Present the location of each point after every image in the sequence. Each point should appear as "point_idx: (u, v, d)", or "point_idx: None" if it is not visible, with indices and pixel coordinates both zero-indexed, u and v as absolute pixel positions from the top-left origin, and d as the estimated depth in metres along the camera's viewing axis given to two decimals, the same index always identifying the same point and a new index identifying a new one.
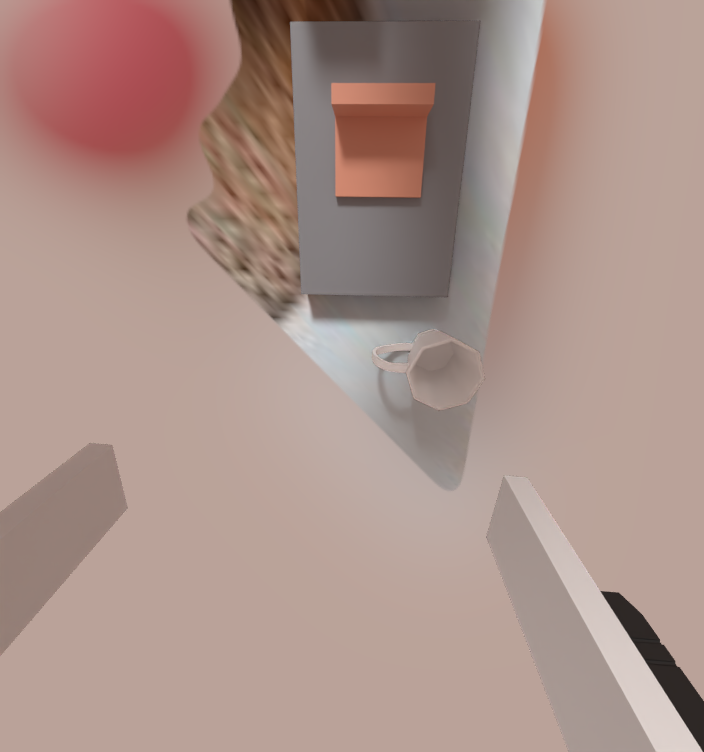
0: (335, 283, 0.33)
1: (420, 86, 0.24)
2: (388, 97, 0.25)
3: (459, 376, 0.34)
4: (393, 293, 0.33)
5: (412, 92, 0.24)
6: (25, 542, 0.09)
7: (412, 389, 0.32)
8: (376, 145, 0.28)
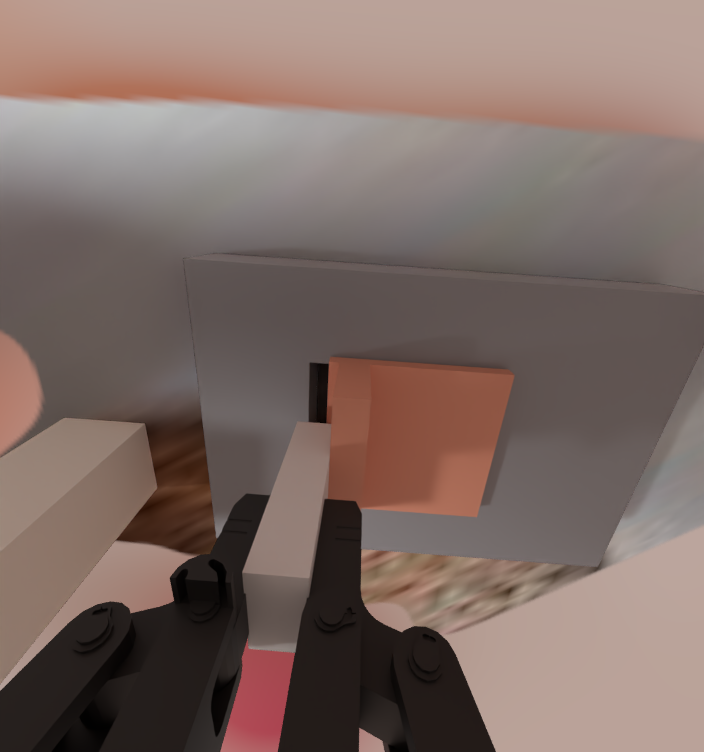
0: (598, 516, 0.17)
1: (336, 425, 0.11)
2: (352, 481, 0.12)
3: None
4: (662, 418, 0.15)
5: (346, 440, 0.11)
6: None
7: None
8: (407, 451, 0.15)
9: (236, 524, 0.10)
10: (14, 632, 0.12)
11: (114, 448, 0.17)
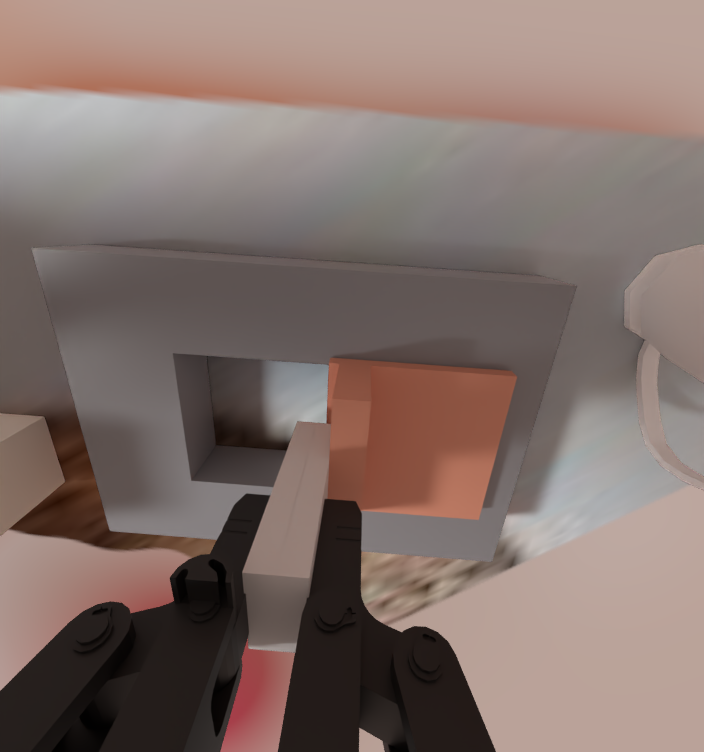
0: (484, 510, 0.17)
1: (336, 427, 0.11)
2: (352, 484, 0.12)
3: None
4: (532, 410, 0.15)
5: (346, 442, 0.11)
6: None
7: None
8: (408, 453, 0.15)
9: (236, 524, 0.10)
10: None
11: (0, 441, 0.17)
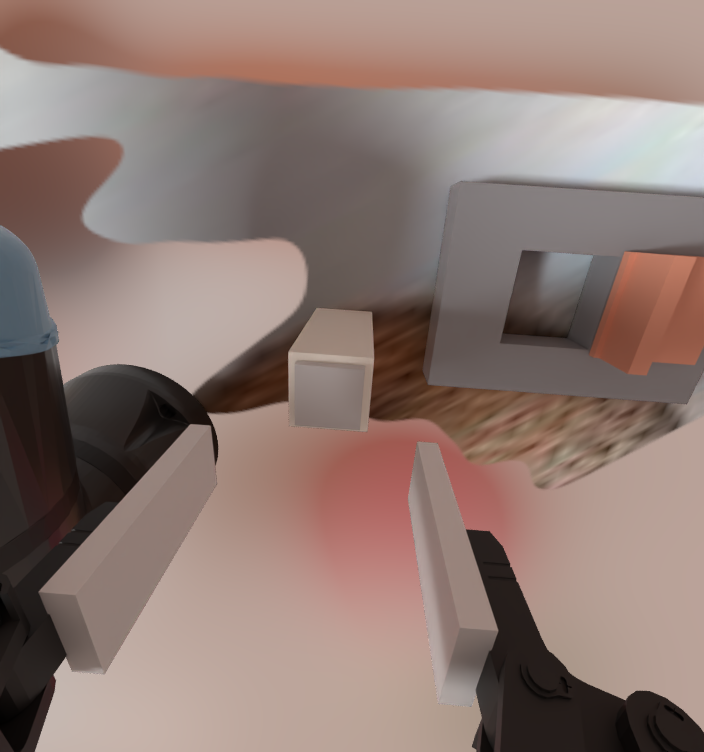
0: None
1: (670, 274, 0.20)
2: (666, 313, 0.21)
3: None
4: None
5: (673, 284, 0.20)
6: (163, 504, 0.10)
7: None
8: None
9: (78, 535, 0.09)
10: None
11: (371, 318, 0.26)
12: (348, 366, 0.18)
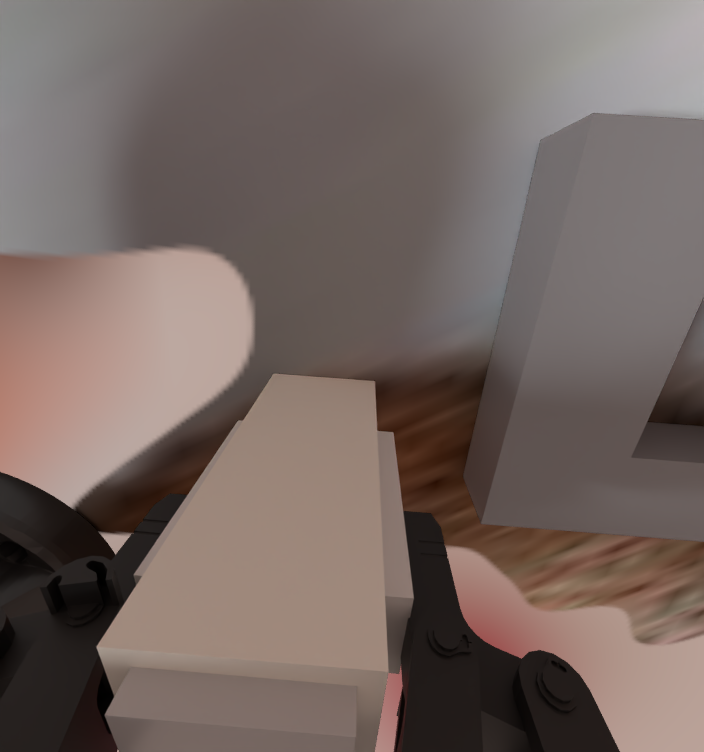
0: None
1: None
2: None
3: None
4: None
5: None
6: None
7: None
8: None
9: (151, 525, 0.09)
10: None
11: (374, 406, 0.13)
12: (299, 704, 0.05)
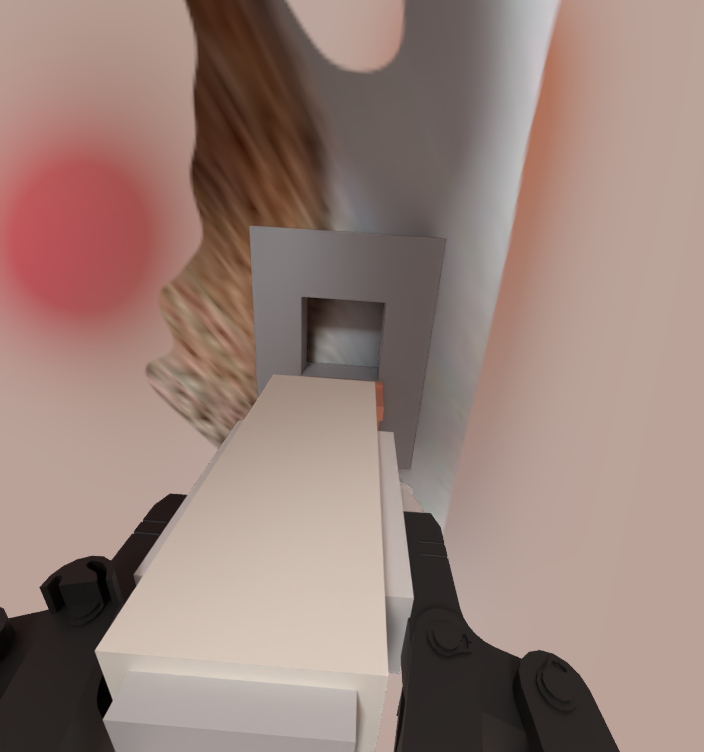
0: None
1: None
2: None
3: None
4: None
5: None
6: None
7: None
8: None
9: (151, 525, 0.09)
10: None
11: (374, 407, 0.13)
12: (299, 709, 0.05)
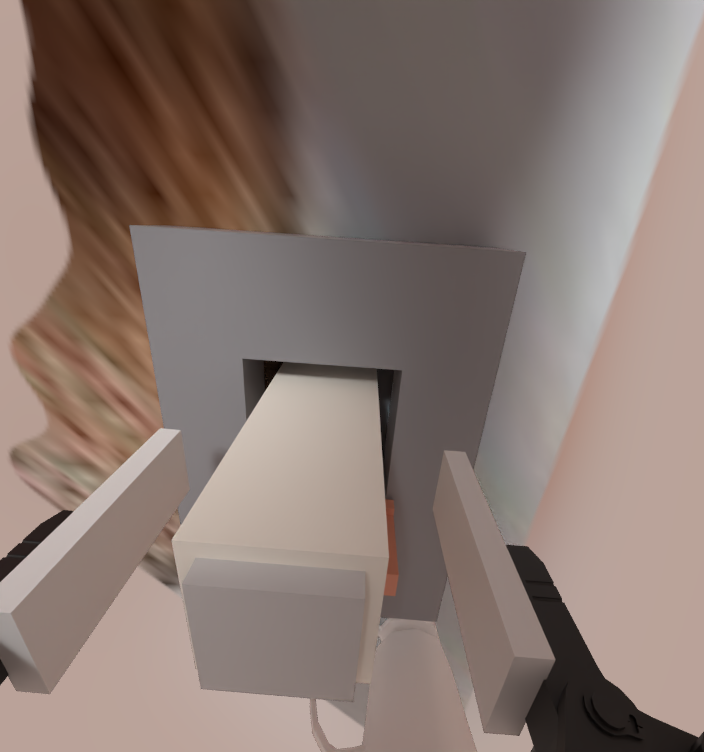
0: None
1: None
2: None
3: None
4: None
5: None
6: (123, 513, 0.10)
7: None
8: None
9: (29, 546, 0.09)
10: None
11: (376, 385, 0.15)
12: (323, 581, 0.07)
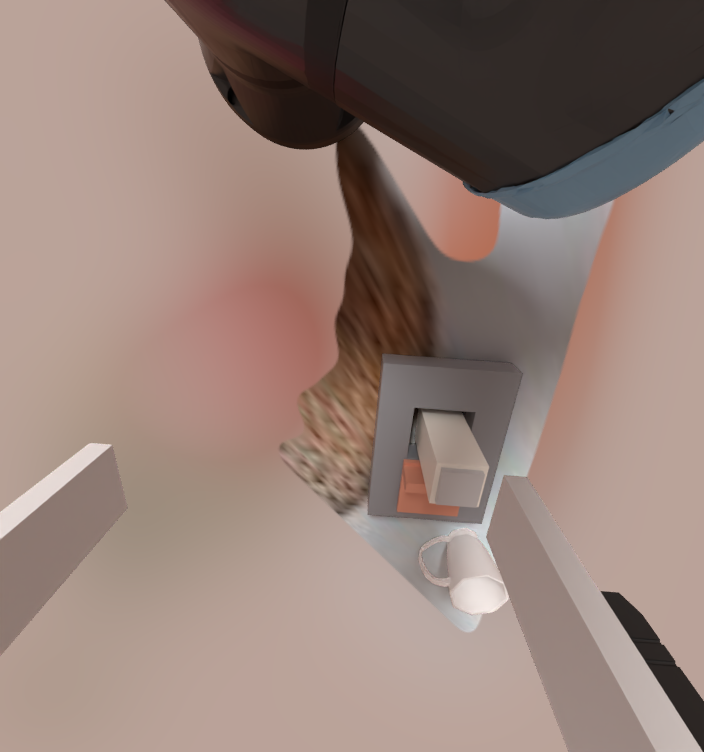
0: (395, 509, 0.43)
1: None
2: None
3: (486, 579, 0.44)
4: (439, 518, 0.43)
5: None
6: (25, 542, 0.09)
7: (452, 602, 0.41)
8: None
9: None
10: None
11: (463, 417, 0.38)
12: (473, 472, 0.30)
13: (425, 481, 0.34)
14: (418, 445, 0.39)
